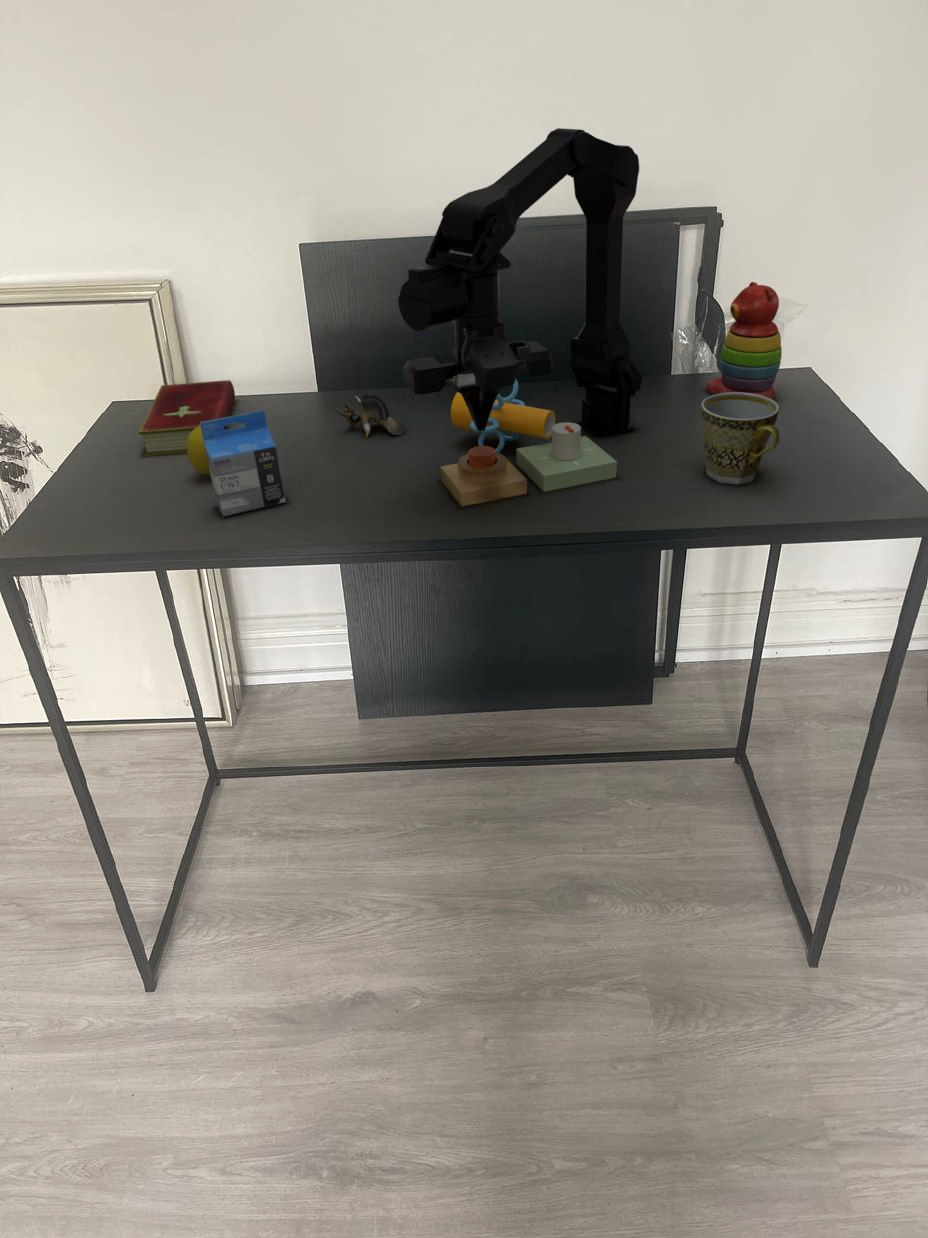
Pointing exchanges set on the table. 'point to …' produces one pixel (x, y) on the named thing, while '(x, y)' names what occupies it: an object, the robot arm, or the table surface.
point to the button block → (482, 481)
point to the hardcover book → (184, 414)
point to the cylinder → (505, 419)
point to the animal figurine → (371, 414)
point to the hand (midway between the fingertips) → (480, 429)
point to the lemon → (197, 451)
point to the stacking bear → (751, 345)
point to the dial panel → (566, 465)
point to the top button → (482, 456)
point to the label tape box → (242, 463)
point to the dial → (566, 441)
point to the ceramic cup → (737, 434)
